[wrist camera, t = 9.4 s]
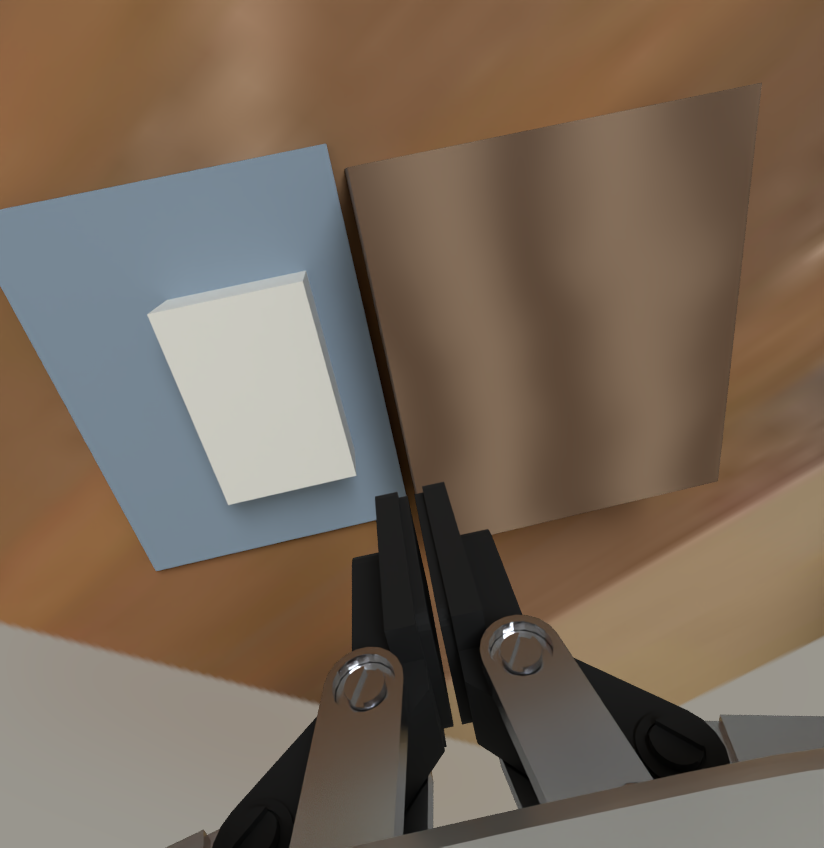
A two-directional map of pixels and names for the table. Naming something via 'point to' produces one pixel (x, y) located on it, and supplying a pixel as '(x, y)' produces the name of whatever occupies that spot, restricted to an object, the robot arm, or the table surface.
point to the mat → (142, 354)
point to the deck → (563, 305)
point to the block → (258, 385)
